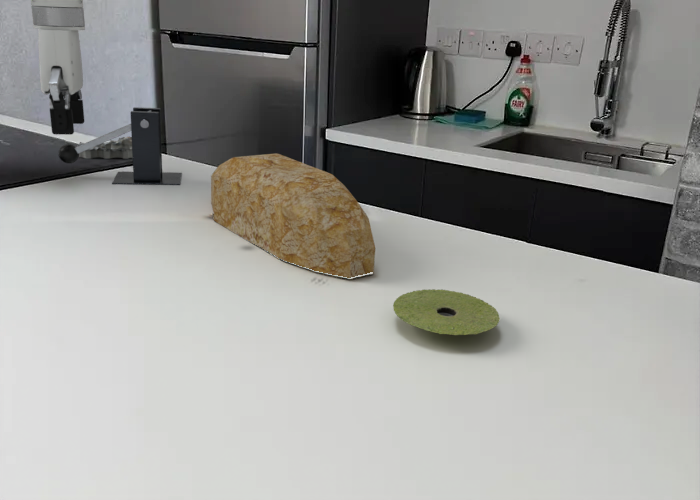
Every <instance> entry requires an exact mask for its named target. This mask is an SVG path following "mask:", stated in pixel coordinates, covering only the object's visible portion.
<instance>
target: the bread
mask: <svg viewBox="0 0 700 500" xmlns="http://www.w3.org/2000/svg"><path fill="white" fill-rule="evenodd" d="M210 204H211V207H212V211H213V213H212V218H213V221H214V222H216V223H217V224H219V225H220V226H222V227H224V228H225V229H227V230H229V231H231V232H232V233H233V234H235V235H237V234H238V235H237V236H239V237H241V238H242V237H243V240H245V241H247V240H248V241H247V242H249V241H250V242H249V243H251V244H252V243H253V244H252V245H254V244H255V245H254V246H256V245H257V246H259V247H261V248H262V249H264V250H266V251H268V252H269V253H271V254H273V255H275V256H276V257H278V258H280V259H282V260H284V261H287V262H290V263H294V264H296V265H299V266H302V267H306V268H309V269H312V270H314V271H319V272H323V273H328V274H332V275H338V276H343V277H347V278H351V277H355V276H358V275H363V274H367V273H370V272H373V273H375V272H374V271H375V259H376V245H375V240H374V236H373V232H372V226H371V221H370V218H369V216H368V215H367V213H366V212H365V210H364V209H363V207H362V206H361V205H360V203H359V202H358V200H357V199H356V198H355V196H354V195H353V194H352V193H351V192H350V190H349V189H348V188H347V187H346V185H345V184H344V183H342V181H340V180H339V179H338V178H337V177H336V176H335V175H334V174H332V173H330V172H327V171H325V170H323V169H320V168H317V167H314V166H311V165H310V164H306V163H303V162H302V161H299V160H295V159H293V158H290V157H288V156H286V155H282V154H280V153H278V152H277V153H276V152H275V153H266V154H254V155H243V156H233V157H231V158H229V159H228V160H225V161H224V162H223V163H221V164H219V165H217V167H216V169H215V170H214V171H213V173H212V174H211V175H210ZM257 246H256V247H257ZM259 247H258V248H259ZM261 248H260V249H261ZM262 249H261V250H262ZM264 250H263V251H264ZM266 251H265V252H266ZM269 253H268V254H269ZM271 254H270V255H271ZM273 255H272V256H273ZM276 257H275V258H276ZM278 258H277V259H278Z"/></svg>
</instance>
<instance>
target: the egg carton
mask: <svg viewBox="0 0 700 500" xmlns="http://www.w3.org/2000/svg"><path fill="white" fill-rule="evenodd" d="M87 142H88V141H87ZM87 142H82V141H79V143H78V144H77V146H80V145H82V144H84V143H87ZM78 158H84V159H90V160H91V159H93V158H94V159H95V158H102V159H104V160H106V159H108V160H110V159H113V158H120V159H123V160H126V159H127V160H128V159H133V156H132V136H126V137H125V136H123V137H119V138H118V140H113V139H111V140H109V141H106V142H104V143H102V144H99V145H97V146H95V147H92V148H90V149H88V150H85V151H83V152H81V153H79V157H78Z"/></svg>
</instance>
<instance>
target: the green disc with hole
mask: <svg viewBox="0 0 700 500" xmlns="http://www.w3.org/2000/svg"><path fill="white" fill-rule="evenodd" d="M392 304H393V305H392V307H393V312H394V313H395V315H396V316H397V317H398V318H399V319H400V320H401V321H403V322H404V323H406V324H408V325H410V326H414V327H415V328H418V329H421V330H424V331H427V332H431V333H436V334H439V335H452V336H467V335H479V334H482V333H485V332H487V331H490V330H492V329H494V328H495V327H497V326H498V324H499V322H500V319H501V317H500V313H499V312H498V311H497V309H496V308H495V306H493V305H492V304H489V303H488V302H487V301H484V300H483V299H480V298H478V297H476V296H473V295H470V294H468V293H464V292H459V291H454V290H448V289H433V288H432V289H421V290H420V289H417V290H413V291H409V292H406V293H404V294H401V295H399V296H398V297H397V298H395V300H394V301H393V303H392Z"/></svg>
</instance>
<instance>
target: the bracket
mask: <svg viewBox="0 0 700 500" xmlns="http://www.w3.org/2000/svg"><path fill="white" fill-rule="evenodd" d="M150 110H151V111H152V112H147V111H150ZM129 112H130V124H131V131H130V133H131V137H132V156H133V157H132V171H117V172H116V174H115V176H114V178H113V180H112V182H111V185H124V186H125V185H127V186H129V185H130V186H131V185H132V186H135V185H136V186H138V185H139V186H143V185H145V186H181V182H182V176H183V173H182V172H176V171H175V172H174V171H173V172H170V171H169V172H168V171H167V172H166V171H165V172H164V171H163V151H162V149H163V147H162V146H163V145H162V117H161V108H160V107H139V106H138V107H137V106H136V107H135V106H134V107H133V108H132V110H131V111H129Z"/></svg>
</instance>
